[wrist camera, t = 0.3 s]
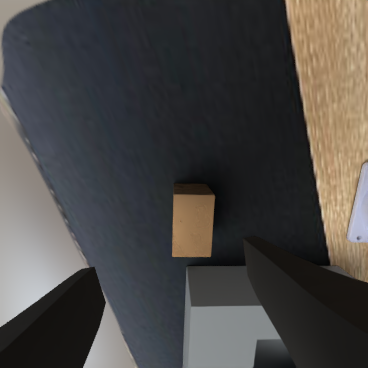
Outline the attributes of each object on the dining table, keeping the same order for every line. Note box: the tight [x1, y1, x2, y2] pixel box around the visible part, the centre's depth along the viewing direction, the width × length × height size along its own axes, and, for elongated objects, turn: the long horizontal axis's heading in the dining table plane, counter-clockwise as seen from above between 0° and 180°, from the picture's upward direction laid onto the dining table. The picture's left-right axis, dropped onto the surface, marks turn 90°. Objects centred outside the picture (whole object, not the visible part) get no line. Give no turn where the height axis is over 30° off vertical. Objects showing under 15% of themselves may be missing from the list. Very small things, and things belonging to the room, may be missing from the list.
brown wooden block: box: [172, 183, 215, 257], centre depth 17 cm, size 3×5×4 cm, turn 178°
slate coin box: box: [183, 266, 355, 368], centre depth 19 cm, size 16×14×5 cm
